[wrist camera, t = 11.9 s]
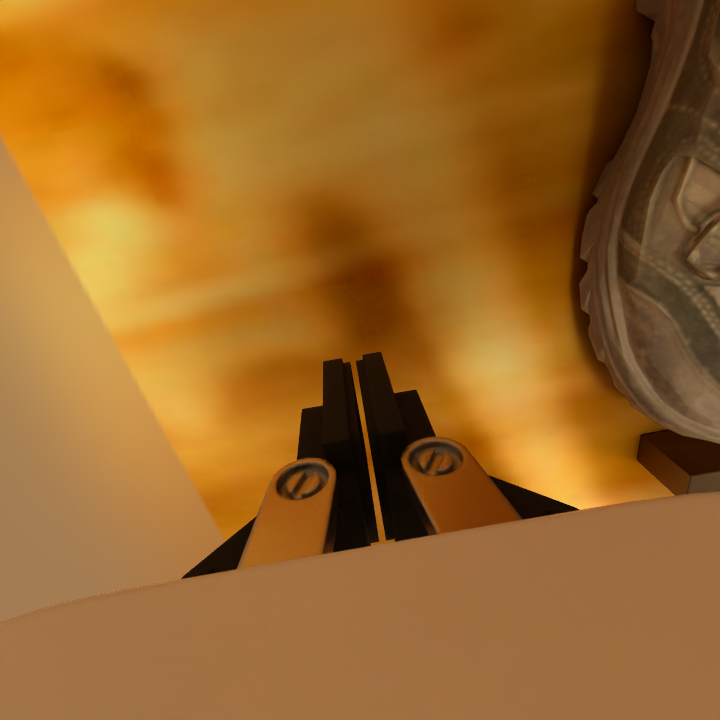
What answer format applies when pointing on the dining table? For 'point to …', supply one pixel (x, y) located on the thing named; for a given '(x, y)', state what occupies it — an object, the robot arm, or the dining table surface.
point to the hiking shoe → (663, 231)
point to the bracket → (681, 462)
